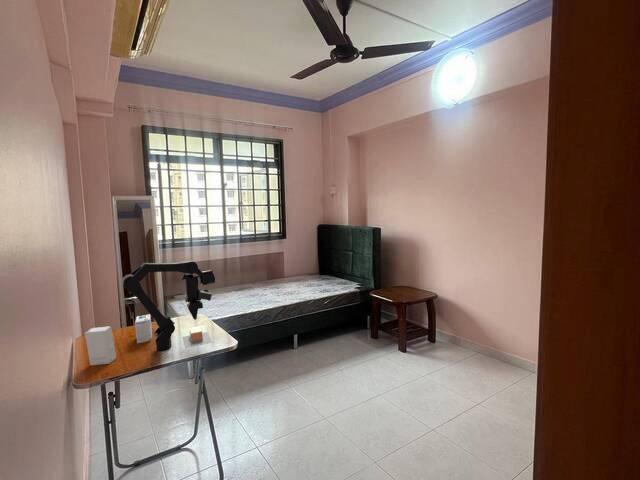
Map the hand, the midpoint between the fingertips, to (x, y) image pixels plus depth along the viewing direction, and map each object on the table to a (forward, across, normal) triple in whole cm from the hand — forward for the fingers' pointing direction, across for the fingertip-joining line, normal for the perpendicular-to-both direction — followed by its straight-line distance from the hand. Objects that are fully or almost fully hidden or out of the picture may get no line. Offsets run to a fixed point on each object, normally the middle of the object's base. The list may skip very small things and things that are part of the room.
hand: (195, 319), depth 161 cm
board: (+11, +6, 0) cm, 13 cm away
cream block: (+8, -1, 0) cm, 8 cm away
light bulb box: (+12, +21, +23) cm, 33 cm away
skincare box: (+12, 0, +38) cm, 40 cm away
